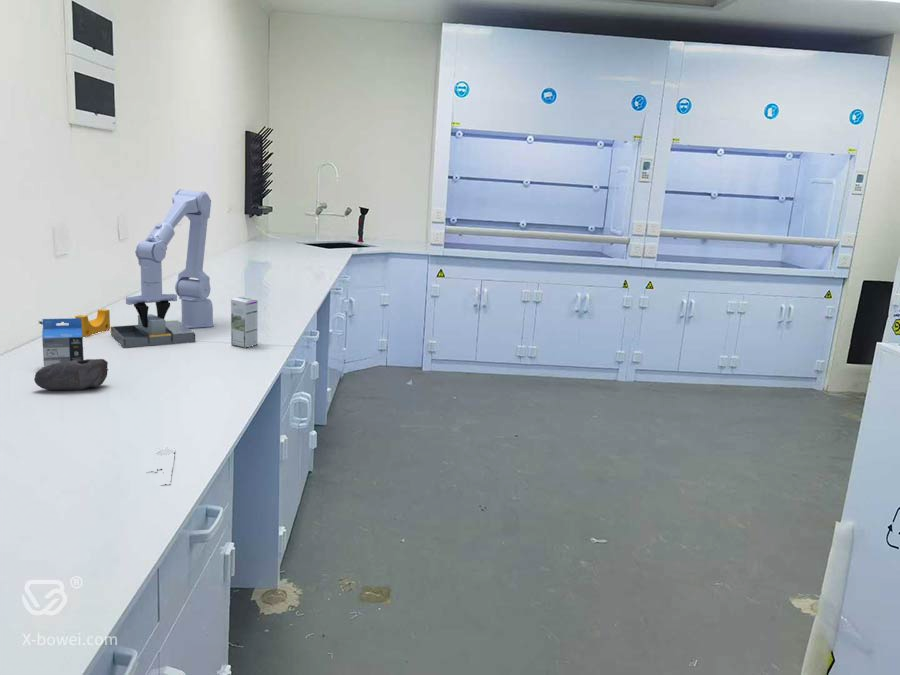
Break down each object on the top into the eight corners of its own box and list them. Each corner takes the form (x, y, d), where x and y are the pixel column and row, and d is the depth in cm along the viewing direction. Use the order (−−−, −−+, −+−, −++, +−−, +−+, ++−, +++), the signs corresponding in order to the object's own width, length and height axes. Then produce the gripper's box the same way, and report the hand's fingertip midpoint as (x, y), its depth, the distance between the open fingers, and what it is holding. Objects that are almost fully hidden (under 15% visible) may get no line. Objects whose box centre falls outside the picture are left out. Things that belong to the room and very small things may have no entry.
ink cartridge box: (43, 370, 168) (40, 322, 165) (44, 366, 172) (41, 318, 169) (84, 368, 172) (81, 321, 170) (84, 364, 176) (81, 317, 173)
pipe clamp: (97, 328, 212) (96, 308, 211) (110, 330, 212) (109, 309, 210) (71, 336, 201) (69, 315, 199) (84, 338, 200) (83, 317, 199)
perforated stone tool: (33, 394, 152) (31, 365, 150) (36, 387, 156) (34, 358, 155) (108, 390, 158) (106, 362, 156) (109, 384, 162) (108, 356, 161)
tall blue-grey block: (151, 329, 210) (151, 313, 209) (165, 336, 203) (165, 319, 202) (138, 330, 207) (137, 315, 206) (152, 337, 200) (151, 321, 199)
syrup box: (258, 345, 207) (258, 298, 204) (245, 348, 202) (245, 301, 198) (243, 342, 209) (244, 296, 206) (230, 345, 204) (230, 298, 201)
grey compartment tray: (179, 330, 217) (178, 319, 217) (195, 342, 205) (195, 331, 204) (111, 334, 205) (110, 324, 205) (123, 348, 193) (123, 336, 192)
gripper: (169, 278, 209) (170, 321, 212) (120, 280, 198) (122, 325, 202) (179, 281, 204) (180, 325, 207) (130, 284, 194) (132, 330, 197)
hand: (152, 326), depth 204 cm, fingers closed on tall blue-grey block, 4 cm apart
